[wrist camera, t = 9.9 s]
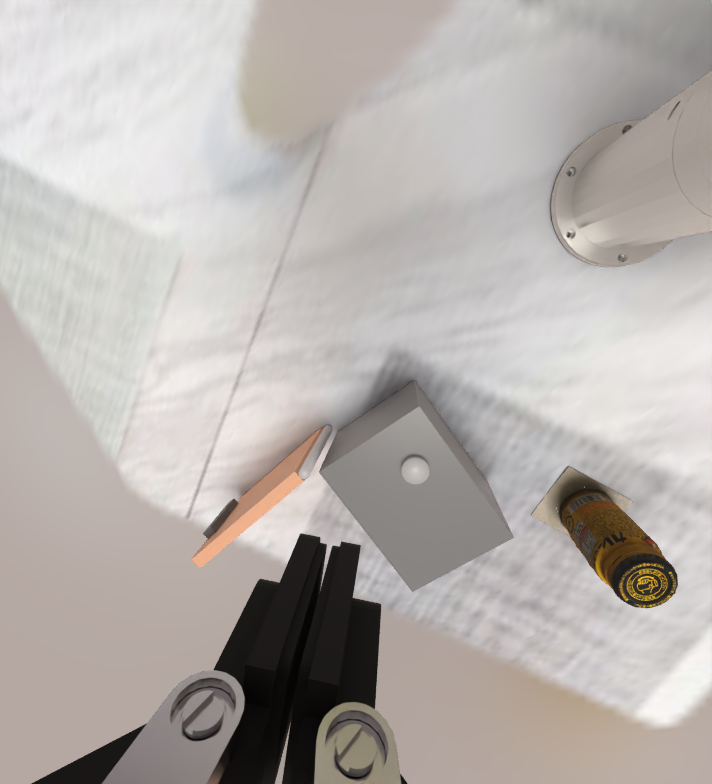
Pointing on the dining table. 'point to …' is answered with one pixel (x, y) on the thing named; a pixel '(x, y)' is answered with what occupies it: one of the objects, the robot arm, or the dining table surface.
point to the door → (262, 496)
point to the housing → (414, 488)
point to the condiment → (609, 539)
